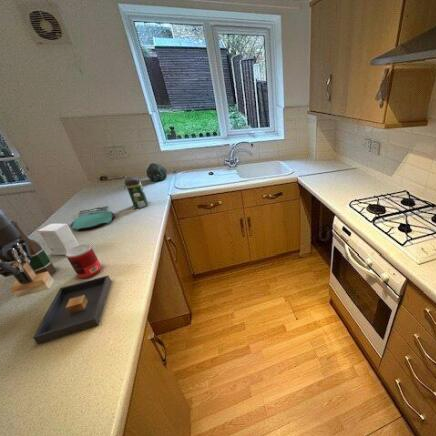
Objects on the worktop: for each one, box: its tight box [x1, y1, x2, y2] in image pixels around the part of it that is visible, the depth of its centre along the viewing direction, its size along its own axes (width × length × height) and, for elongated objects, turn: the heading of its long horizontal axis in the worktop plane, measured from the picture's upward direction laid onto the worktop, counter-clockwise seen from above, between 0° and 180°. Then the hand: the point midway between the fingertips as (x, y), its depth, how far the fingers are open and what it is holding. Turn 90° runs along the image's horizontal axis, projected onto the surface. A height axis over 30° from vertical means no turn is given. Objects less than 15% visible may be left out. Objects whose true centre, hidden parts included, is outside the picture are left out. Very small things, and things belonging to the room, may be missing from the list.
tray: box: [32, 275, 112, 345], centre depth 80 cm, size 15×22×3 cm
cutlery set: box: [70, 205, 115, 231], centre depth 138 cm, size 20×30×2 cm, turn 33°
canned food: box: [65, 243, 102, 279], centre depth 94 cm, size 8×8×11 cm
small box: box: [37, 223, 80, 256], centre depth 107 cm, size 8×6×13 cm
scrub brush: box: [9, 262, 55, 298], centre depth 68 cm, size 7×4×9 cm, turn 115°
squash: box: [146, 162, 168, 182], centre depth 194 cm, size 14×15×15 cm
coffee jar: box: [124, 175, 149, 209], centre depth 148 cm, size 10×8×19 cm
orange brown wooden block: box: [66, 295, 88, 314], centre depth 79 cm, size 4×4×3 cm
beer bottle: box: [10, 220, 57, 277], centre depth 90 cm, size 8×8×24 cm
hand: (28, 278), depth 68 cm, fingers closed on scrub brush, 2 cm apart
